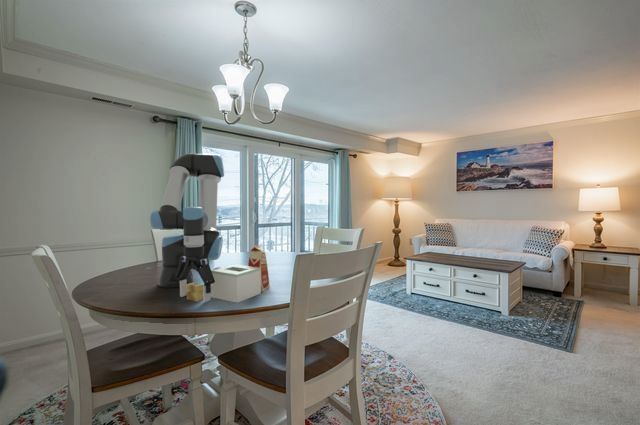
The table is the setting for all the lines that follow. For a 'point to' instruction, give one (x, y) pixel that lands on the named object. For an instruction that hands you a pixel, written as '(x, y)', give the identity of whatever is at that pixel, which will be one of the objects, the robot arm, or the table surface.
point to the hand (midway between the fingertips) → (194, 298)
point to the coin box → (236, 283)
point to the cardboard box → (194, 291)
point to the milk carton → (260, 265)
